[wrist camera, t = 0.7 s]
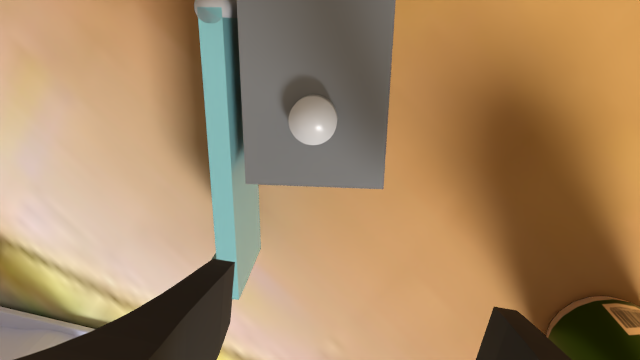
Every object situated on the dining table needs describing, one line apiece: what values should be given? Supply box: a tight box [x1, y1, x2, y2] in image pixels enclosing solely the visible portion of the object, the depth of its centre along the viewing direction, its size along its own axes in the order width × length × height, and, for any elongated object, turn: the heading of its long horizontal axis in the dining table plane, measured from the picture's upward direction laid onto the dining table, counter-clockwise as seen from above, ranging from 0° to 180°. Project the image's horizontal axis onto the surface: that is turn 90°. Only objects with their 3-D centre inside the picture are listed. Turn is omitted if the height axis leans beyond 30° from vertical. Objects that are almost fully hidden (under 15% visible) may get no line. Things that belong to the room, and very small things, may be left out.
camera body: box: [237, 0, 395, 189], centre depth 16 cm, size 12×5×6 cm, turn 179°
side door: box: [194, 0, 261, 300], centre depth 18 cm, size 12×1×4 cm, turn 179°
